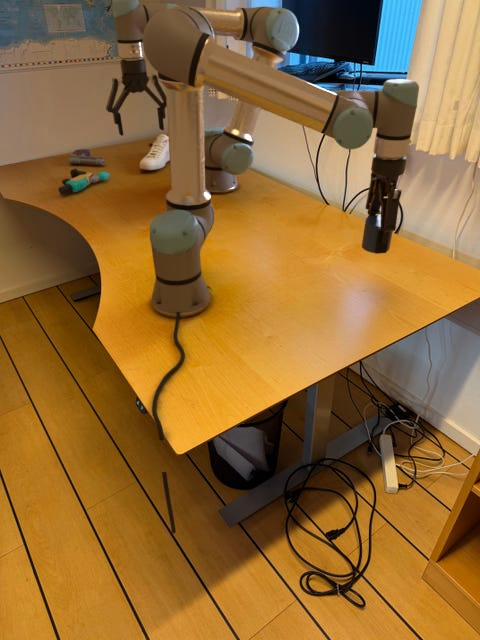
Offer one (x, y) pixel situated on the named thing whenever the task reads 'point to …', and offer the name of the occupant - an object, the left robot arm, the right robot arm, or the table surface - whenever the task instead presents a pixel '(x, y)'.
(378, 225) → the cylinder
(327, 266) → the table surface
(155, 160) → the sneaker
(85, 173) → the toy gun
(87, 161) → the toy gun
